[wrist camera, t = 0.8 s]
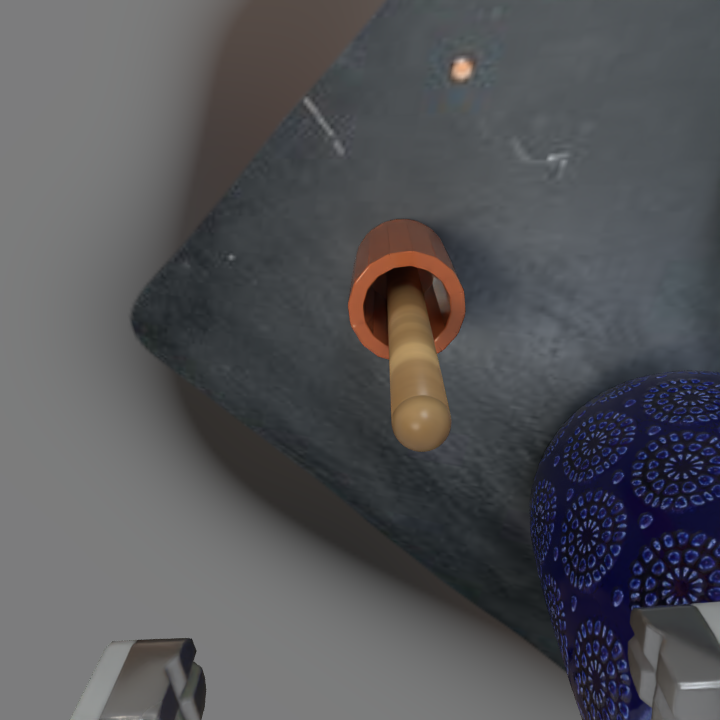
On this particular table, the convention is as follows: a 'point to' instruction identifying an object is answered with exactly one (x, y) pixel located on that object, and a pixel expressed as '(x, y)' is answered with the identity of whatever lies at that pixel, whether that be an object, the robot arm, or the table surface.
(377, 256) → the crock
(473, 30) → the table surface
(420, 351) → the stick
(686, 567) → the planter
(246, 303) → the table surface
